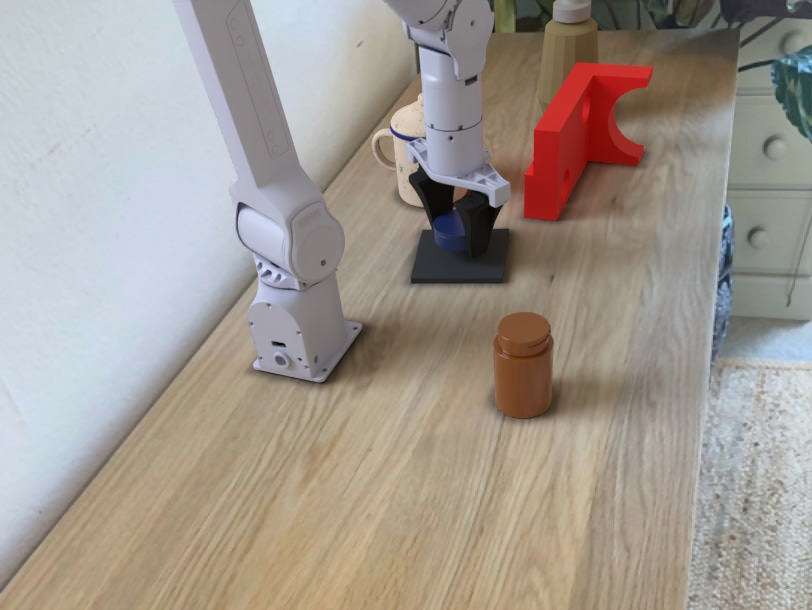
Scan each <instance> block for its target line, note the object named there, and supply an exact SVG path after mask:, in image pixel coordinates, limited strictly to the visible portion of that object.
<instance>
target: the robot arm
mask: <svg viewBox="0 0 812 610" xmlns="http://www.w3.org/2000/svg"><path fill="white" fill-rule="evenodd" d="M171 1H172V4H173V7H174V9H175V12H176V15H177V18H178V20H179V24H180V26H181V28H182V31H183V33H184V37H185V39H186V42H187V45H188V47H189V49H190V52H191V55H192V58H193V61H194V63H195V66H196V69H197V71H198V73H199V76H200V80H201V82H202V85H203V88H204V91H205V93H206V95H207V98H208V101H209V104H210V106H211V109H212V111H213V114H214V117H215V120H216V122H217V125H218V128H219V130H220V133H221V136H222V139H223V141H224V144H225V147H226V149H227V152H228V154H229V158H230V161H231V163H232V164H233V168H234V171H235V173H236V177H234V179H233V180H232V182H231V183H230V185H229V186H228V189H227V190H228V193H229V196H230V199H231V202H232V229H233V233H234V235H235V238H236V239H237V240H238V242H239V244H241V245H242V246H243V247H244V248H245V249H248V250H250V251H251V253H252V257H253V260H254V264H255V266H256V271H257V276H258V278H257V279H258V286H257V290H256V294H255V296H254V299H253V301H252V303H251V305H250V306H249V308H248V311H247V315H246V316H247V317H246V320H247V325H248V329H249V331H250V335H251V338H252V342H253V344H254V349H255V352H256V357H257V358H256V359H255V361H254V362H253V363H252V367H253V369H254V370H257V371H262V372H267V373H272V374H276V375H282V376H285V377H290V378H294V379H295V378H296V379H300V380H305V381H310V382H314V383H319V384H320V383H323V382H325V381H326V380H327V378H328V377H329V376H330V374H331V373H332V371H333V370H334V369H335V368H336V366H337V365H338V363H339V362H340V360H341V359H342V358H343V356H344V355H345V353H346V352H347V351H348V349H349V348H350V347H351V346H352V344H353V343H354V341H355V340H356V338H357V337H358V336H359V334H360V333H361V331H362V330H363V324H362V323H361V322H356V321H352V320H345V317H344V313H343V307H342V306H343V305H342V301H341V294H340V289H339V284H338V283H339V282H338V278H337V271H338V266H339V264H340V263H341V261H342V259H343V255H344V252H345V246H346V236H345V235H346V234H345V231H344V227H343V225H342V224H341V222H340V221H339V220H338V218H336V216H334V215H333V214H332V213H331V212H330V210H329V208H328V205H327V203H326V199H325V196H324V194H323V193H322V192H321V190H320V189H319V187H318V186H317V185H316V183H315V182H314V181H313V180H312V179H311V177H310V176H309V175H308V173H307V172H306V171H305V170H304V168H303V167H302V165H301V163H300V159H299V157H298V154H297V149H296V147H295V144H294V140H293V136H292V133H291V131H290V127H289V123H288V120H287V117H286V114H285V110H284V107H283V104H282V100H281V98H280V94H279V91H278V87H277V84H276V81H275V77H274V74H273V72H272V68H271V65H270V61H269V58H268V55H267V51H266V48H265V45H264V42H263V38H262V35H261V32H260V29H259V26H258V22H257V18H256V16H255V12H254V9H253V5H252V2H251V0H171ZM382 2H383V3H384V4H385V5H386V6H387V7H388V8H390V9H391V11H393V12H394V13H395V14H396V15H397V16H398V18H400V19H401V24H402V25H401V26H402V30H403V33H404V35H405V37H406V38H407V40H409V41H413V42H414V43H416V44H418V45H419V46H418V54H419V66H420V68H419V69H420V77H421V91H422V92H423V104H424V117H425V130H426V140H425V139H423V138H419V139H416V140H414V141H412V142H409V143H407V144H406V146H407V156H408V161H409V162H411V163H413V164H415V163H417V162H419V163H418V164H419V168H417V171H416V172H414V173H412V174H410V175H409V177H408V179H409V183H410V184H411V186H412V187H413V188H414V190H415V191H416V193H417V195H418V196H419V198H420V200H421V202H422V204H423V206H424V208H423V209H424V211H425V214H426V217H427V219H428V220H427V221H428V223H429V225H430V228H431V229H432V231H433V234H434V227H433V223H434V220H435V219H436V217H437V216H439V215H440V214H442V213H444V212H446V211H449V210H453V209H454V207H455V209H457V211H458V213H459V215H460V217H461V220H462V223H463V227H464V231H465V238H466V246H467V251H468V254H469V257H471V258H472V259H475V258H477V257H479V256H481V255H483V254H485V253H487V250H488V246H489V242H490V237H491V234H492V230H493V229H494V227H495V224H496V221H497V219H498V217H499V215H500V212H501V211H502V209H503V207H504V205H505V204H507V203H509V202H511V182H509V181H508V180H507V179H505V178H504V177H502V176H501V175H500V173H499V172H498V171H497V170H496V169H495V168H494V166H493V165H492V164H491V162H490V161H489V160H491V158H492V155H491V154H492V153H491V150H489V149H487V148H485V147H484V113H483V111H484V110H483V77H482V74H483V73H482V72H483V71H484V69H485V64H487V56H486V54H487V53H486V52H487V47H488V43H489V41H490V38H491V35H492V33H493V29H494V26H495V25H494V24H495V17H496V15H495V11H492V10H491V7H490V3H489V1H488V0H382ZM422 92H421V93H422ZM455 186H457V187H462V188H466V189H468V190H469V194H466V195H464V196H463V197H462V198H461V199H459V200H456V201H454V203H453V197H454V189H455Z"/></svg>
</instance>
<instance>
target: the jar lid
mask: <svg viewBox="0 0 812 610" xmlns="http://www.w3.org/2000/svg"><path fill="white" fill-rule="evenodd" d="M433 227H434V239H435V243H436V244H437V245H438V246H439V247H441V248H442V249H445V250H449V251H467V246H466V238H465V231H464V227H463V223H462V220H461V217H460V215H459V213H458V211H457V209H456V208H453V210H449V211H446V212H444V213H442V214H440V215H439V216H437V217H436V219H435V220H434V223H433Z"/></svg>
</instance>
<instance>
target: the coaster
mask: <svg viewBox="0 0 812 610" xmlns="http://www.w3.org/2000/svg"><path fill="white" fill-rule="evenodd" d="M509 236H510V228H493V230H492V234H491V237H490V242H489V246H488V250H487V253H485V254H483V255H481V256H479V257H477V258H475V259H472V258H471V257H469V254H468V251H449V250H445V249H442V248H441V247H439V246H438V245H437V244H436V243H435V239H434V234H433V231H432V228H431V229H422V230H421V234H420V238H419V242H418V245H417V249H416V250H417V251H416V254H415V258H414V262H413V266H412V270H411V275H410V283H411V284H416V283H417V284H465V283H466V284H503V283H504V279H505V278H504V277H505V270H506V269H505V268H506V262H507V261H506V260H507V253H508V245H509Z"/></svg>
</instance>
